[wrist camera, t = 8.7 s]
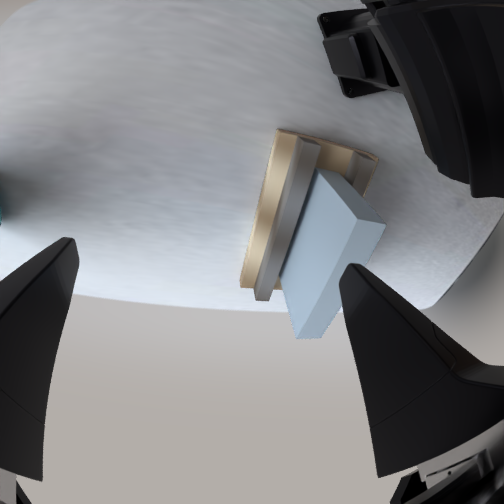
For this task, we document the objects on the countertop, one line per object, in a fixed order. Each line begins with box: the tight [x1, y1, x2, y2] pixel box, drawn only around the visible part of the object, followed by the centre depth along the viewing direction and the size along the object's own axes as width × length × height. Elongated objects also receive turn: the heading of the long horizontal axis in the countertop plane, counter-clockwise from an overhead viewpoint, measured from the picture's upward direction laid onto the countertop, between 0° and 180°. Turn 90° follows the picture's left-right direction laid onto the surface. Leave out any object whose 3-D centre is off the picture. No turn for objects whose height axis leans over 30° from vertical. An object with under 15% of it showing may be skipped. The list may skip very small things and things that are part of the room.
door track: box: [240, 129, 379, 301], centre depth 21 cm, size 14×8×2 cm, turn 168°
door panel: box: [279, 167, 387, 339], centre depth 19 cm, size 10×2×7 cm, turn 168°
